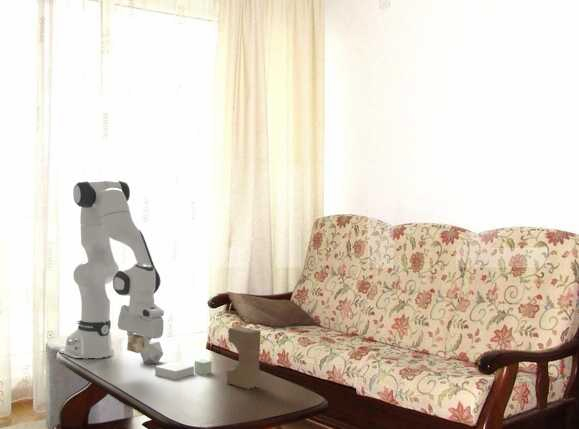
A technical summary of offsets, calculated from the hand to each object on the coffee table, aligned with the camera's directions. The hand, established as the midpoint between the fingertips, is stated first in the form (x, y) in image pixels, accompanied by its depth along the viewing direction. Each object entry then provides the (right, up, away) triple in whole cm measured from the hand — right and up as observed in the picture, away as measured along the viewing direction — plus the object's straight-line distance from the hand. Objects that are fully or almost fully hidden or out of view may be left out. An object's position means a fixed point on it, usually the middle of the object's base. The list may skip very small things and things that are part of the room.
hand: (138, 345), depth 266 cm
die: (+1, -10, +20) cm, 23 cm away
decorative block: (+38, -13, -7) cm, 41 cm away
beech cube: (0, -2, 0) cm, 2 cm away
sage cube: (+23, -12, +8) cm, 27 cm away
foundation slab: (+13, -11, +4) cm, 17 cm away
